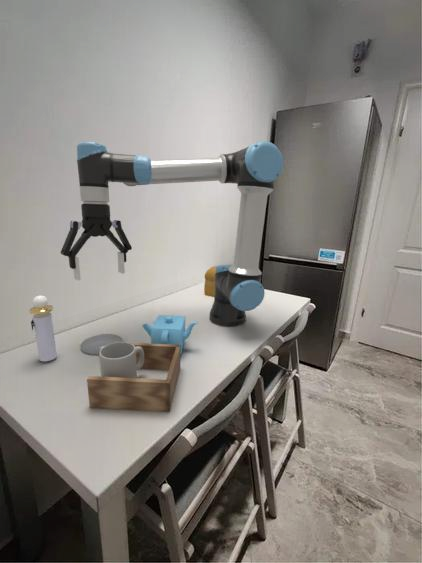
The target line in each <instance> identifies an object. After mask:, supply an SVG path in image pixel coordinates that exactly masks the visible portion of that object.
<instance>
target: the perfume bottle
mask: <svg viewBox="0 0 422 563" xmlns="http://www.w3.org/2000/svg"><path fill="white" fill-rule="evenodd" d="M48 303H49V300H48V298H47V297H46V296H45V295H40V294H39V295H36V296H35V297H34V298H33V299H32V305H33V306H32V307H31V308H29V309H28V310H29V311H28V312H29V314H31V315H32V320H31V321H30V324H31V331H34V333H35V340H36V346H37V354H38V360H39V361H41V362H49V361H53V360H54V359H56V358H57V356H58V355H57V354H58V353H57V348H56V345H57V344H56V341H55V340H56V337H55V331H54V322H53V315H52V313H51V312H52V311H54V306H53V305H50V304H48Z"/></svg>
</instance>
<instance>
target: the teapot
mask: <svg viewBox="0 0 422 563" xmlns="http://www.w3.org/2000/svg"><path fill="white" fill-rule="evenodd" d="M198 324H200V321H192V322H190V323H189V324H188V327H187V329H186V316H185V315H174V314H173V315H171V314H169V315H166V314H158V315H157V317H156V318H155V320H154V322H153V324H152V325H150V324H149V323H143V324H142V325H141V326H142V328H143V329H144V331H145V332H147V334H148V335H149V337H150V344H171V345H180V356H181V355H182V353H183V348H184V344H185V341H186V340H188V338H189V337H190V336H191V334H192V330H193V328H194V326H196V325H198Z"/></svg>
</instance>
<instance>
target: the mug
mask: <svg viewBox="0 0 422 563" xmlns="http://www.w3.org/2000/svg"><path fill="white" fill-rule="evenodd" d="M131 343H132V342H128V341H123V342H115V343H111V344H108V345H106V346H104V347H103V348H102V349H101V350H100V353H99V355H98V356H99V365H100V377H120V378H138V375H137V373H138V371H140V370H141V369H140V368H141V367H142V366H143V364H144V351H143V349H142V347H140V346H136V347H135V346H134V345H133V344H131ZM137 352H139V354H140V359H139V362H138V364H136V353H137Z"/></svg>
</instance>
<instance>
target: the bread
mask: <svg viewBox="0 0 422 563" xmlns="http://www.w3.org/2000/svg"><path fill="white" fill-rule="evenodd" d="M217 266H218V265H215V266H212V267H210V268H209V269H207V270H206V271H205V273H204V290H203V291H204V296H207V297H211V298H214V295H215V271H216V267H217Z"/></svg>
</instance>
